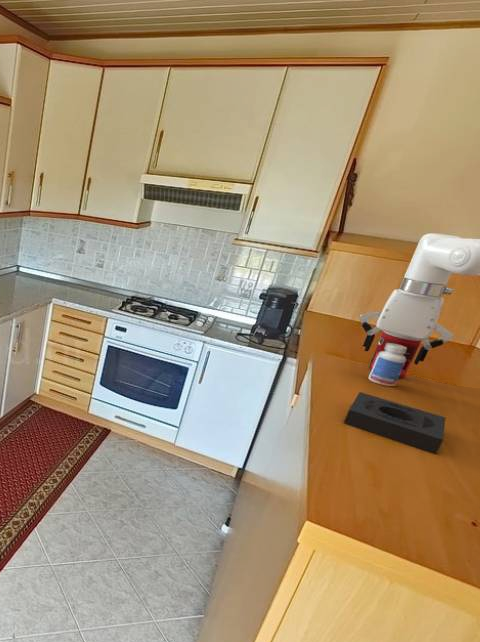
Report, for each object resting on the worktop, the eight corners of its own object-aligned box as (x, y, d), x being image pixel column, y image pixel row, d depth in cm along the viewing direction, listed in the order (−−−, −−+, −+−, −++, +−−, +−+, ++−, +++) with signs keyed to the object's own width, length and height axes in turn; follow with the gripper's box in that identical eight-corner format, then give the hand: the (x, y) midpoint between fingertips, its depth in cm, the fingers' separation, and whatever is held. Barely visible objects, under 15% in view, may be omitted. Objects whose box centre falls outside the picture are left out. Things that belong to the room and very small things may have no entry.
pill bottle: (398, 388, 118) (415, 351, 115) (372, 383, 120) (388, 346, 116) (389, 380, 123) (405, 344, 120) (364, 376, 125) (379, 340, 121)
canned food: (383, 366, 134) (400, 328, 130) (412, 378, 126) (431, 338, 122) (360, 365, 132) (376, 327, 128) (388, 378, 125) (406, 337, 121)
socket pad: (354, 404, 107) (359, 391, 106) (438, 430, 98) (445, 417, 97) (343, 422, 97) (349, 409, 96) (436, 454, 88) (443, 439, 87)
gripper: (471, 295, 110) (437, 365, 116) (377, 278, 121) (350, 342, 127) (471, 300, 105) (436, 372, 111) (373, 281, 116) (345, 348, 122)
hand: (390, 356), depth 119 cm, fingers open, 9 cm apart
